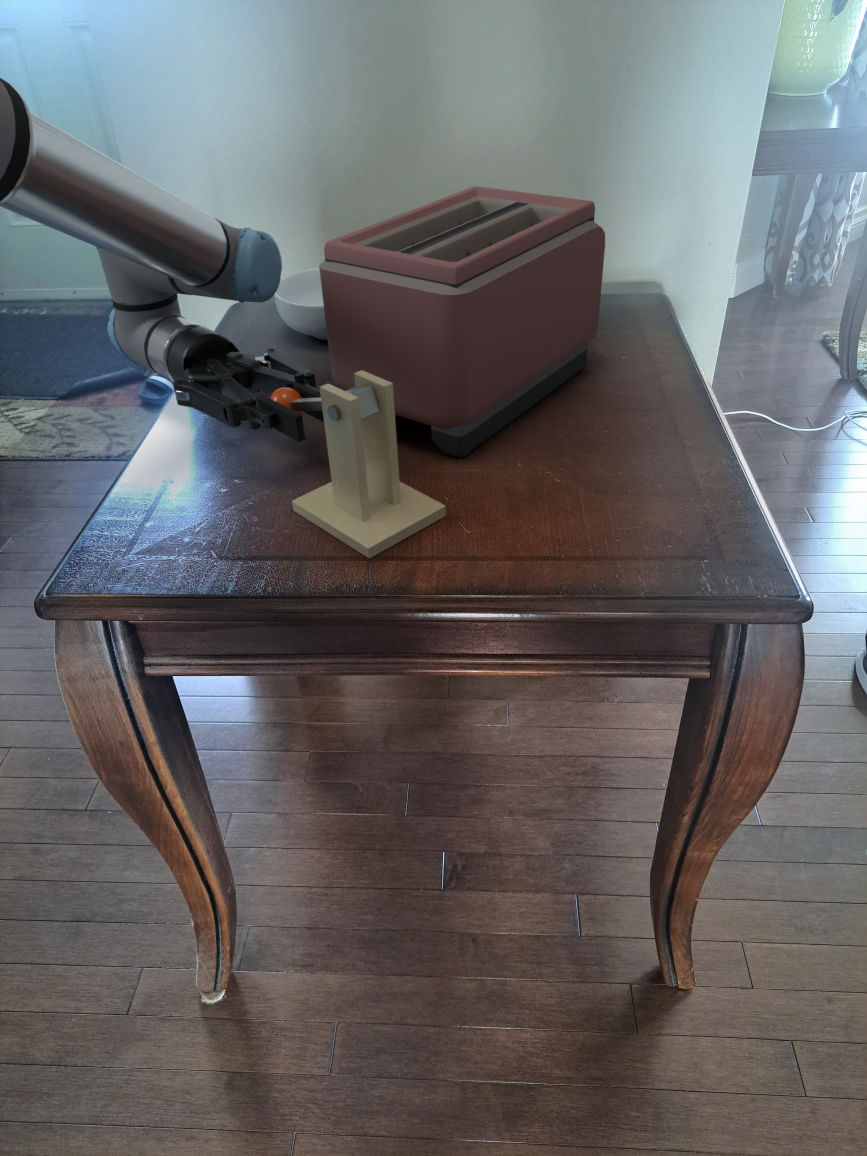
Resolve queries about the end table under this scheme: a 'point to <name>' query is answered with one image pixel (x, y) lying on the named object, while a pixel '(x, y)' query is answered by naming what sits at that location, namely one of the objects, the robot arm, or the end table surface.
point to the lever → (299, 404)
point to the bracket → (365, 475)
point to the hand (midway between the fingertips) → (317, 421)
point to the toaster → (466, 306)
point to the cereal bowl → (302, 303)
